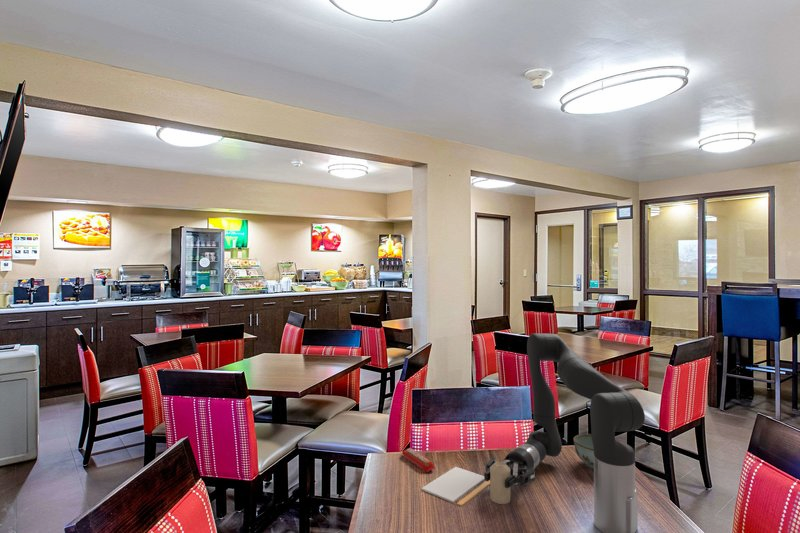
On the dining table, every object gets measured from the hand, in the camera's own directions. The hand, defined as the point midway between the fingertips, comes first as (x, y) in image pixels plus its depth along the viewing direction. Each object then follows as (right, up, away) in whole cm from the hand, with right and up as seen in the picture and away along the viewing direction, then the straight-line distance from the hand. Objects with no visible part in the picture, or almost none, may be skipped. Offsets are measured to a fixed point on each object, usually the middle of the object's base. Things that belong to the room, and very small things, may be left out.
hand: (496, 480), depth 123 cm
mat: (-10, -6, +11) cm, 16 cm away
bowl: (+37, -6, +22) cm, 43 cm away
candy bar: (-20, -6, +25) cm, 33 cm away
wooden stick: (-4, -6, +6) cm, 9 cm away
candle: (+2, -6, +2) cm, 7 cm away
